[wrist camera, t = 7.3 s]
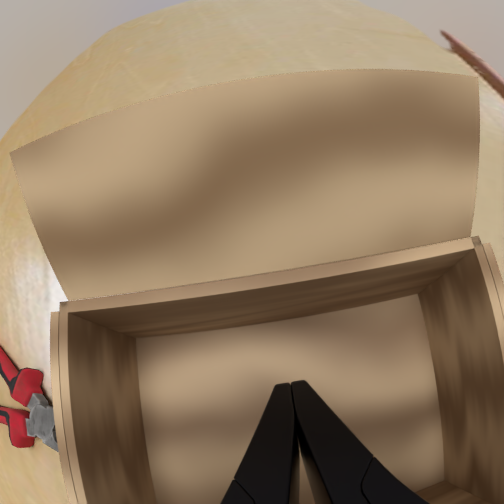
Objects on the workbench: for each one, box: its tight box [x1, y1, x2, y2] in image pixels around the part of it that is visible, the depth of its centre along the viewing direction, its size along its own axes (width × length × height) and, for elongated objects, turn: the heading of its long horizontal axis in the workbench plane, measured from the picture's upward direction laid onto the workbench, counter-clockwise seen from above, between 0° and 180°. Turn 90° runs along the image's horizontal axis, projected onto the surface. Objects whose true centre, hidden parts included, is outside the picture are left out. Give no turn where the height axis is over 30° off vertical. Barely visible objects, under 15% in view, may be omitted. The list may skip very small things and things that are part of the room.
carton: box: [50, 236, 504, 504], centre depth 15 cm, size 17×23×9 cm
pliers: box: [0, 347, 59, 452], centre depth 20 cm, size 3×9×22 cm
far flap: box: [10, 69, 480, 301], centre depth 12 cm, size 8×21×1 cm
